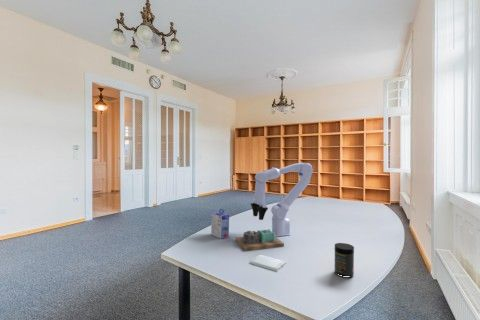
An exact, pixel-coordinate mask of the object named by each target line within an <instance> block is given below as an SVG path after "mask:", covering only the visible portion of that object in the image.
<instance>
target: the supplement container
mask: <svg viewBox="0 0 480 320" xmlns="http://www.w3.org/2000/svg"><path fill="white" fill-rule="evenodd" d="M333 265H334V268H333V270H334V273H335V272H336V273H337V274H339V275H342V276H352V277H353V276H354V274H355V273H354V272H355V271H354V270H355V247H354V246H353V245H352V244H349V243H345V242H337V243H335V244H334V264H333ZM336 273H335V274H336ZM337 274H336V275H337ZM339 275H338V276H339Z"/></svg>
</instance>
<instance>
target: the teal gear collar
mask: <svg viewBox="0 0 480 320" xmlns="http://www.w3.org/2000/svg"><path fill="white" fill-rule="evenodd" d="M264 230H265V229H263V230H261V229H260V230H259V229H258V230H257V231H256V232H259V233H260V240H261V241H262V242H263V243H264V242H267V241H275V233H274V232H272V230H271V229H270V228H268V229H267V230H268V231H269V233H264Z"/></svg>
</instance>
